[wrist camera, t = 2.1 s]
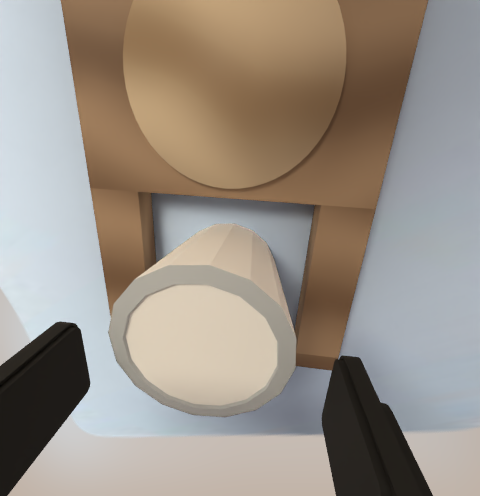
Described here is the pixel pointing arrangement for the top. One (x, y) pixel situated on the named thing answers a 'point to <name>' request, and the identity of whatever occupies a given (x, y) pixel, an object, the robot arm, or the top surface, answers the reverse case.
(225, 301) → the cream short cylinder
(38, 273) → the top surface
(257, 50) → the pocket board
